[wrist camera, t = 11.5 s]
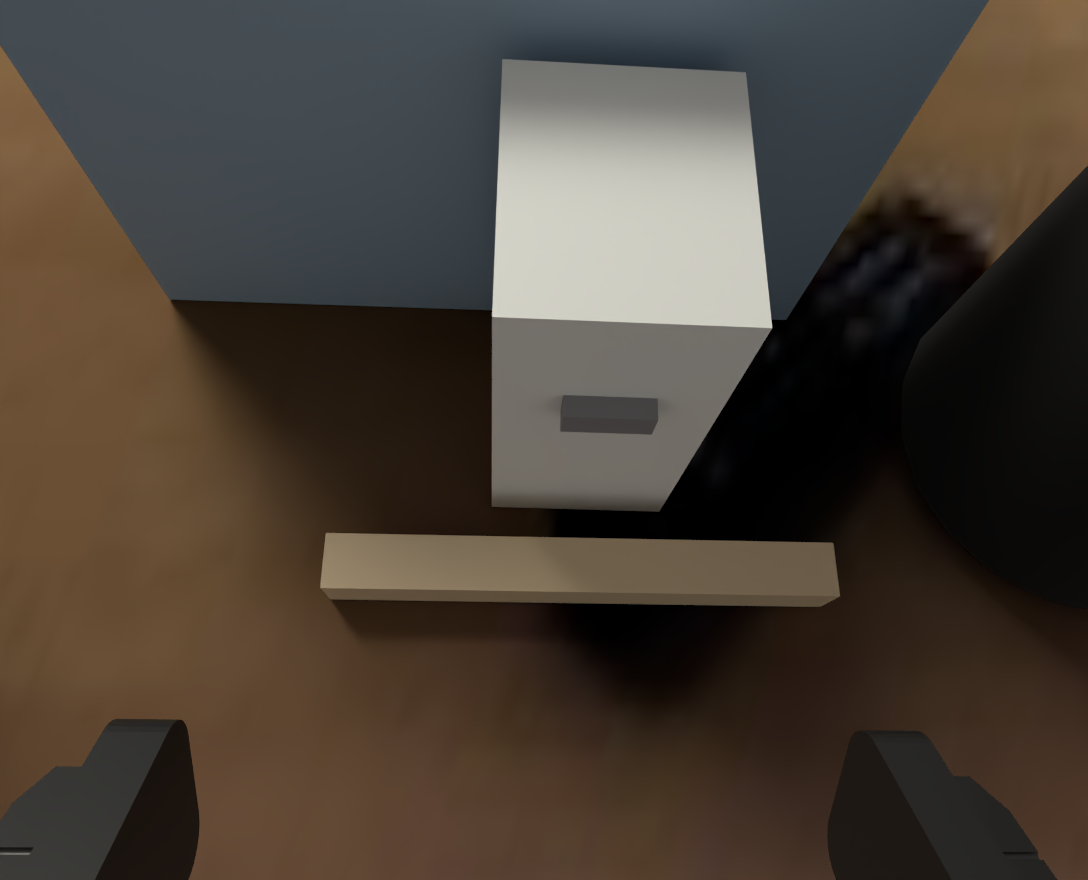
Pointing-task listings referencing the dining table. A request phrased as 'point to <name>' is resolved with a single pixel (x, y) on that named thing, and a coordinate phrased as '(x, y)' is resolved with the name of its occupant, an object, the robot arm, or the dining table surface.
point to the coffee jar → (1013, 409)
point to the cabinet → (619, 278)
